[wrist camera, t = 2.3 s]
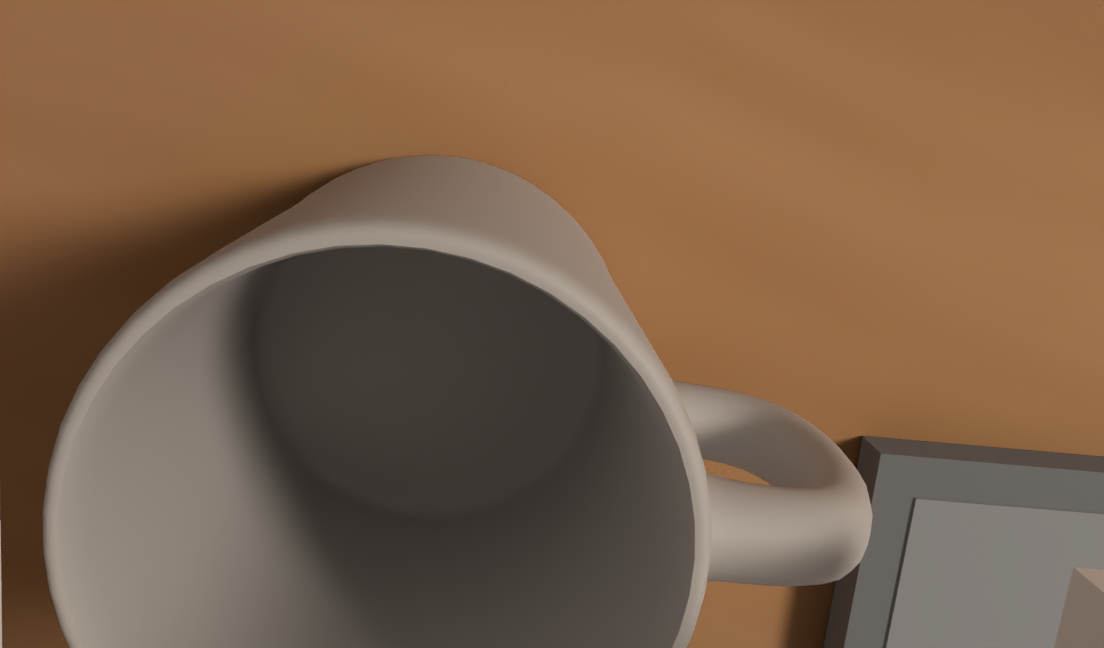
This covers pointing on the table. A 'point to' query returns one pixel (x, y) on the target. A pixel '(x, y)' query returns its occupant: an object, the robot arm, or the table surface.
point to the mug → (419, 444)
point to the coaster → (968, 546)
